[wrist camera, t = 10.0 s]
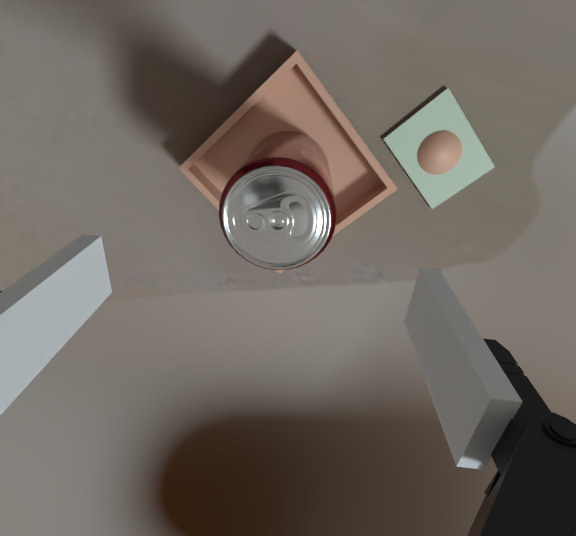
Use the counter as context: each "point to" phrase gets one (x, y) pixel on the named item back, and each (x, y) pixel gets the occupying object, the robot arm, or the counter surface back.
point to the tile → (439, 149)
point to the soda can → (280, 203)
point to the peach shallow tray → (299, 118)
